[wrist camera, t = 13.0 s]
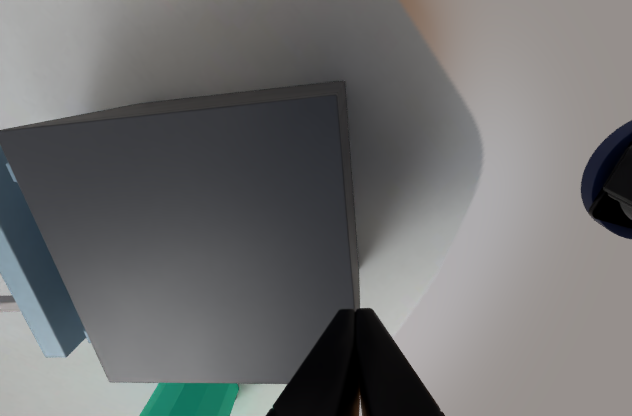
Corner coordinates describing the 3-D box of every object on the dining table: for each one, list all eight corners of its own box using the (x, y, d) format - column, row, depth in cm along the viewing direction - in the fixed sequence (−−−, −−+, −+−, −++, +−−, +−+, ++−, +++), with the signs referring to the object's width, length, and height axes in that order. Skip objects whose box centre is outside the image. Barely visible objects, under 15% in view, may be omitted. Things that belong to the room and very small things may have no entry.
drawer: (59, 281, 24) (-44, 358, 18) (-10, 131, 20) (-174, 163, 14) (279, 273, 22) (248, 357, 16) (248, 104, 18) (192, 126, 12)
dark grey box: (190, 276, 24) (108, 383, 16) (139, 103, 19) (-8, 131, 12) (359, 270, 22) (361, 385, 14) (345, 80, 18) (337, 94, 10)
